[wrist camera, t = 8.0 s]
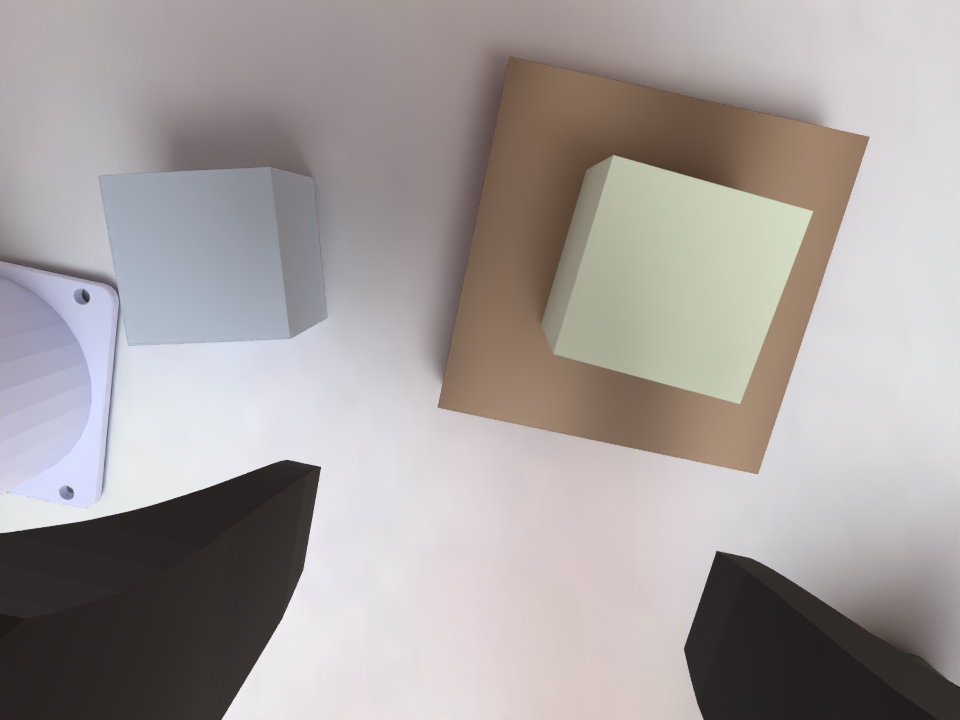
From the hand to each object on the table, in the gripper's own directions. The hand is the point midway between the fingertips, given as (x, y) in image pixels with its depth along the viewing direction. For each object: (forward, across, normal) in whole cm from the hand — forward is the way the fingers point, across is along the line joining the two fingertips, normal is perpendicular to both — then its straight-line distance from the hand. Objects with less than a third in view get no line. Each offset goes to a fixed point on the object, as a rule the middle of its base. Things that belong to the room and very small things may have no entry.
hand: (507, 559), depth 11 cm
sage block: (+8, -3, -5) cm, 10 cm away
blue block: (+11, +9, -3) cm, 14 cm away
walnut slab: (+11, -3, -5) cm, 12 cm away
